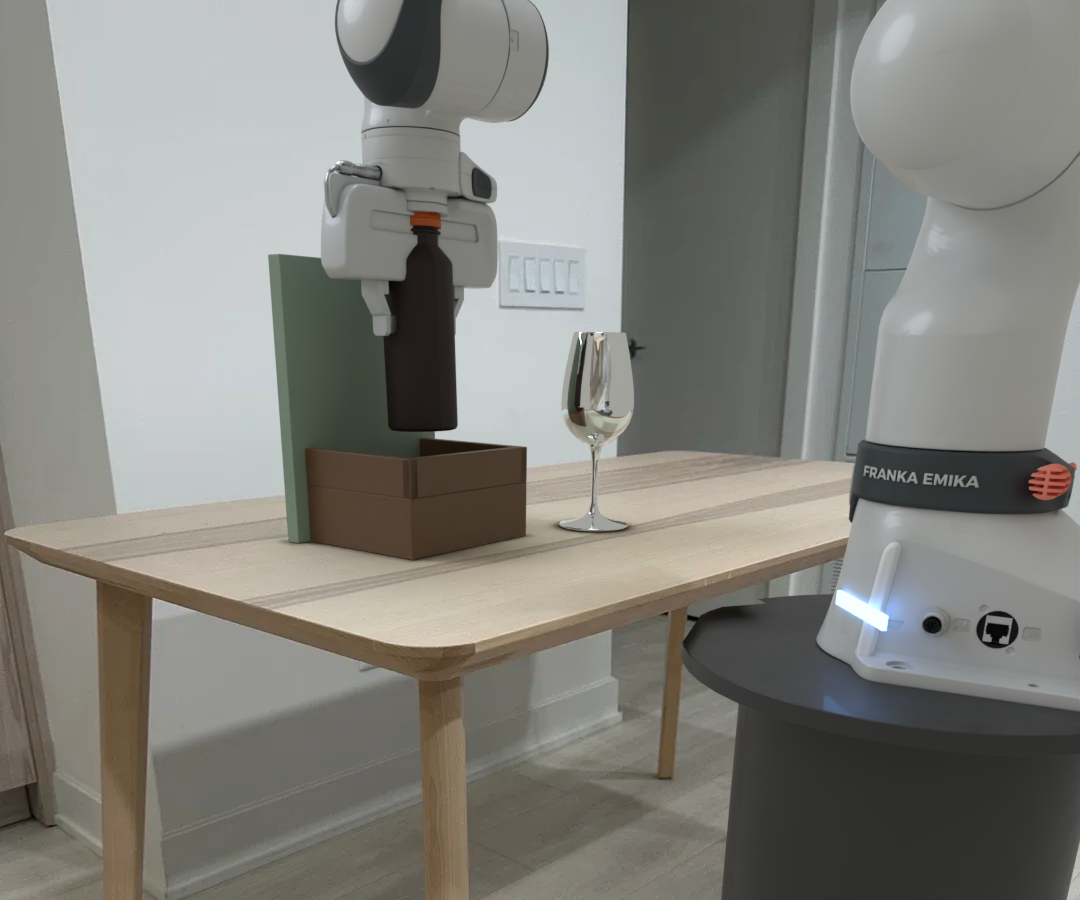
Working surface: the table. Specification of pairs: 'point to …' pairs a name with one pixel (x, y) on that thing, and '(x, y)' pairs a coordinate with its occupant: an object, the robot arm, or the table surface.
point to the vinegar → (422, 337)
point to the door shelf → (372, 437)
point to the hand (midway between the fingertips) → (416, 336)
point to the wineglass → (597, 406)
